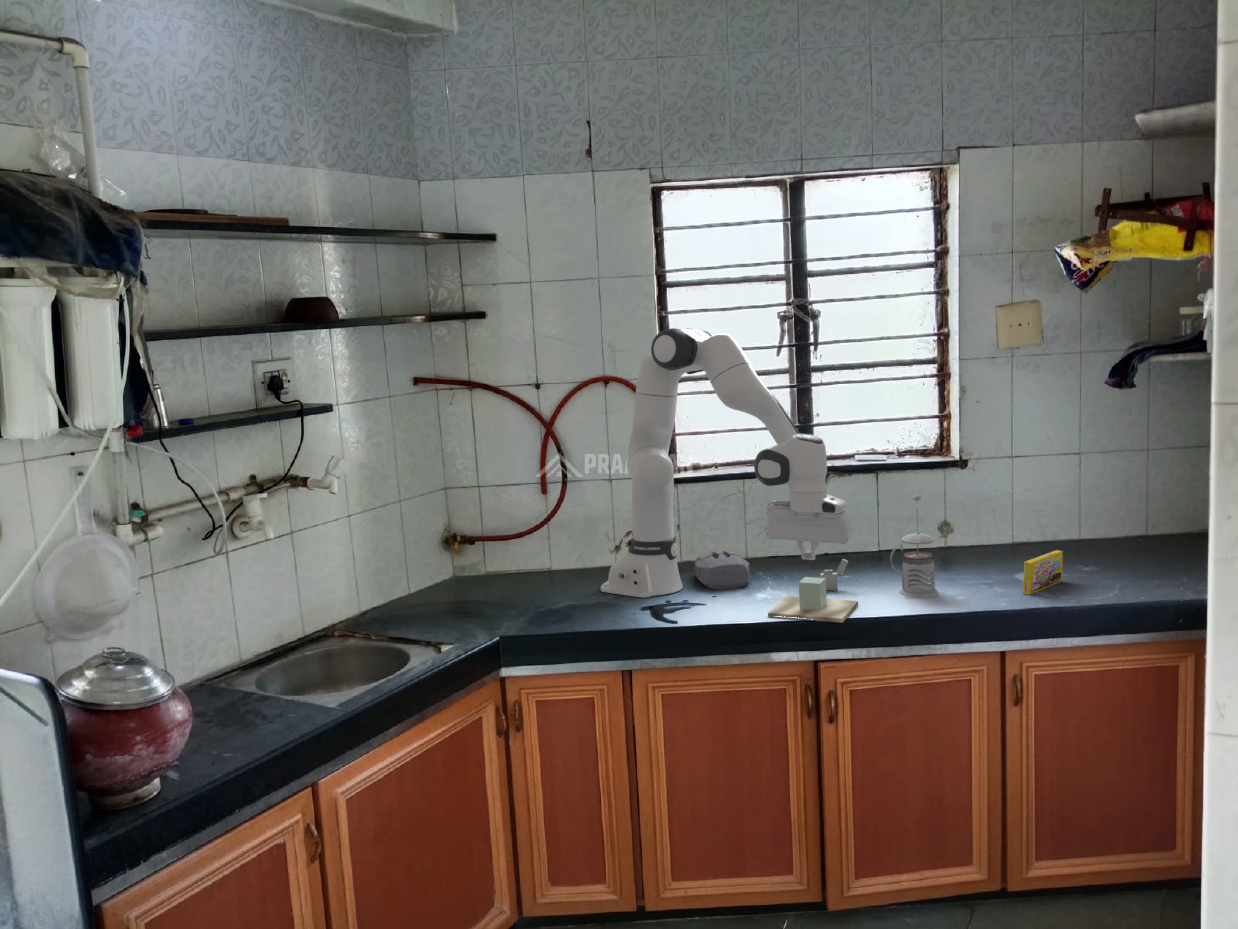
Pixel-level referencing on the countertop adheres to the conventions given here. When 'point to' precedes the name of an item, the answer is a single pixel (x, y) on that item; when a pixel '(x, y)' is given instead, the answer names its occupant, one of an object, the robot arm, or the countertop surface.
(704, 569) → the grey rounded bag
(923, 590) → the french press
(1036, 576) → the candy box
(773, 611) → the post stand
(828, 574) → the lighter
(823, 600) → the pale sage rectangular block
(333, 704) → the countertop surface
